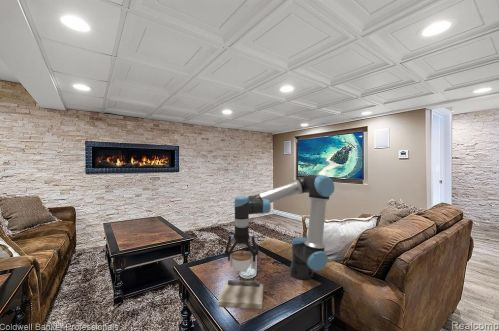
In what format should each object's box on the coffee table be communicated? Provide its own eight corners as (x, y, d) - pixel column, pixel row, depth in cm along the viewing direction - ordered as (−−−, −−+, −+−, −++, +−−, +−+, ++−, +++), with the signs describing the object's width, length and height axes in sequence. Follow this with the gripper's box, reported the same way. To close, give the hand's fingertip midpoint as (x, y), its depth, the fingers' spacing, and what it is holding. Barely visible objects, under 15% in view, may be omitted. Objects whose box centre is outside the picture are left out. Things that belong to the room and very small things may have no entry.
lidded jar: (249, 274, 113) (249, 256, 113) (229, 272, 115) (229, 254, 115) (253, 265, 124) (253, 248, 124) (234, 263, 126) (234, 247, 126)
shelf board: (263, 288, 128) (263, 280, 128) (261, 309, 110) (261, 299, 110) (225, 286, 130) (225, 279, 130) (218, 306, 112) (218, 297, 112)
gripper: (263, 224, 122) (263, 264, 122) (221, 223, 124) (221, 262, 124) (263, 228, 115) (263, 271, 115) (218, 227, 117) (218, 269, 117)
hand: (241, 267), depth 120 cm, fingers closed on lidded jar, 11 cm apart
